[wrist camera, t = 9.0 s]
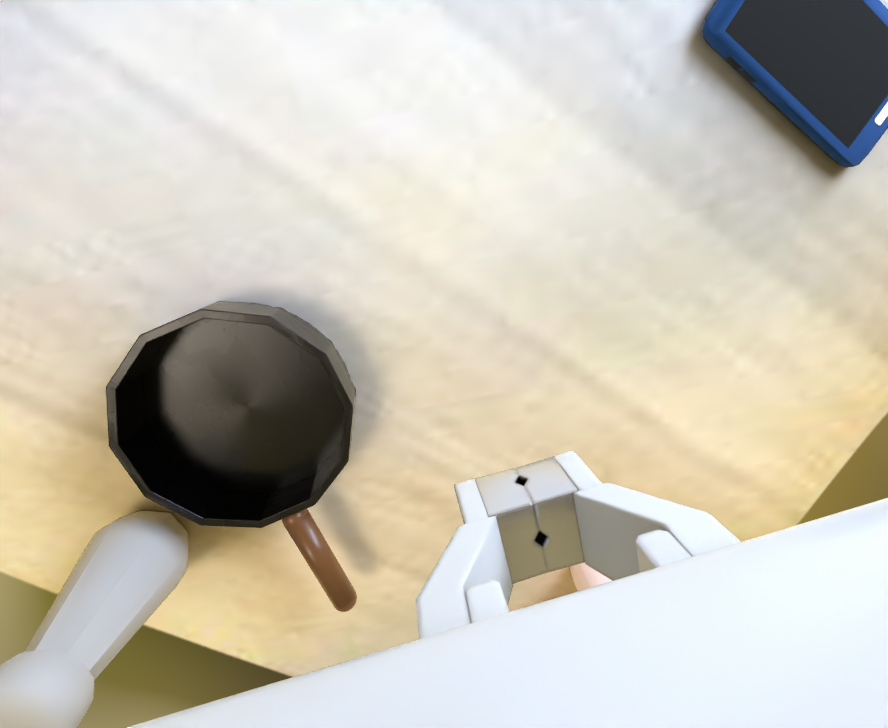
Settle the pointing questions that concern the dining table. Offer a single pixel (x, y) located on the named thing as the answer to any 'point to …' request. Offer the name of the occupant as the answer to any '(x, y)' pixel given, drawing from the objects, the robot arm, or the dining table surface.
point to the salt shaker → (93, 619)
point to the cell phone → (813, 65)
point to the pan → (238, 423)
